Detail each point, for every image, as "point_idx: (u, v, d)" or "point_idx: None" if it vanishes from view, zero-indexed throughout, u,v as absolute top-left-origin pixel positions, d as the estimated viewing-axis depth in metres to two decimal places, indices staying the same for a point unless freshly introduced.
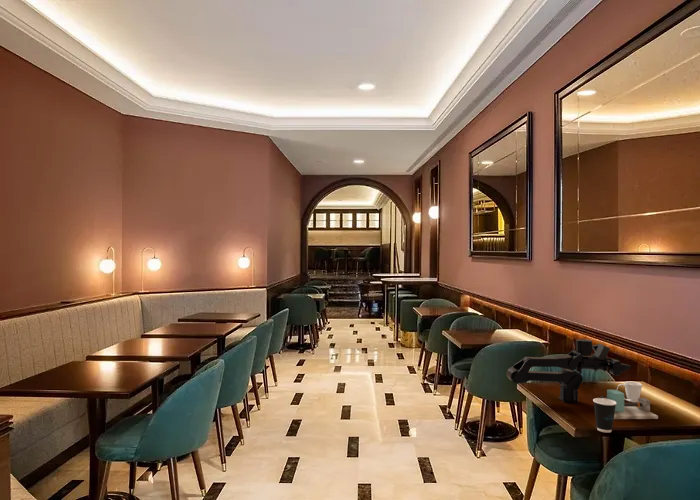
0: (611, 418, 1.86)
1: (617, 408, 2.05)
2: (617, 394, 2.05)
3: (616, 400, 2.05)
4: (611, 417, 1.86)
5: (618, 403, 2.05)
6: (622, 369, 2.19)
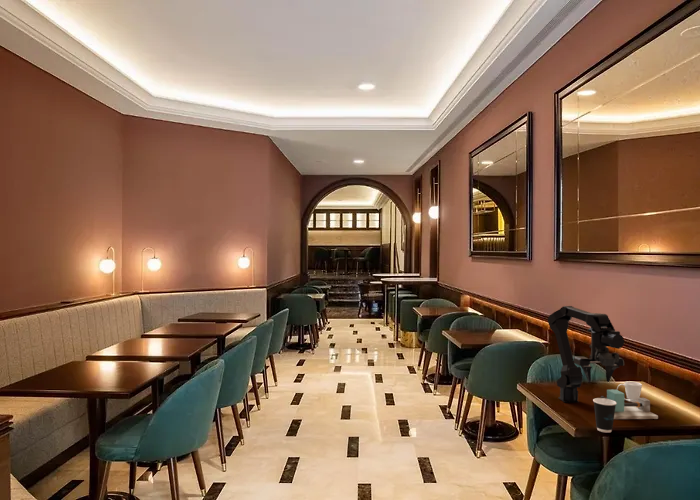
0: (611, 418, 1.86)
1: (617, 408, 2.05)
2: (617, 394, 2.05)
3: (616, 400, 2.05)
4: (611, 417, 1.86)
5: (618, 403, 2.05)
6: (585, 370, 2.09)
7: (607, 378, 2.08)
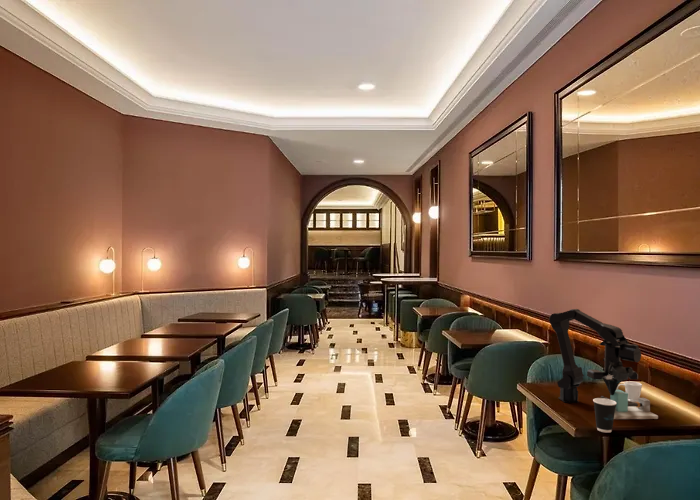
0: (611, 418, 1.86)
1: (620, 408, 2.06)
2: (620, 394, 2.06)
3: (619, 400, 2.05)
4: (611, 417, 1.86)
5: (621, 403, 2.06)
6: (607, 383, 2.09)
7: None
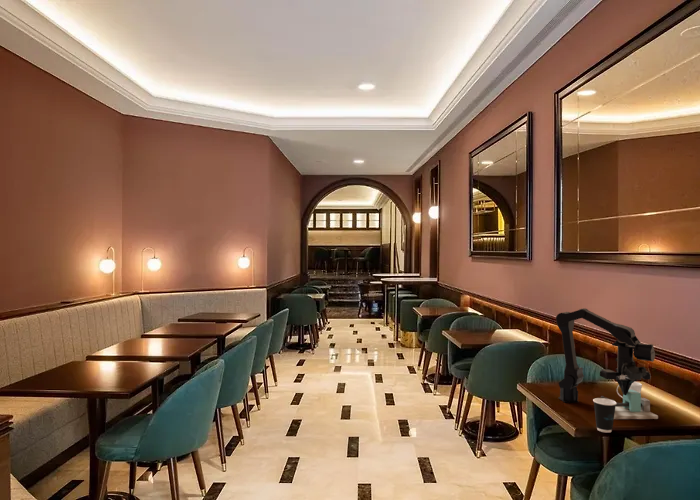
0: (611, 418, 1.86)
1: (633, 408, 2.06)
2: (633, 394, 2.06)
3: (632, 400, 2.06)
4: (611, 417, 1.86)
5: (634, 403, 2.06)
6: (619, 383, 2.09)
7: None
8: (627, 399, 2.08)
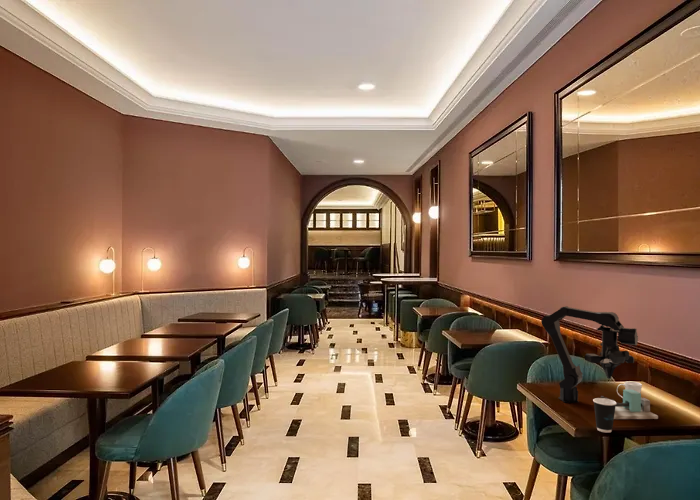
0: (611, 418, 1.86)
1: (634, 408, 2.06)
2: (634, 394, 2.06)
3: (633, 400, 2.06)
4: (611, 417, 1.86)
5: (635, 403, 2.06)
6: (604, 367, 2.15)
7: None
8: (627, 399, 2.08)
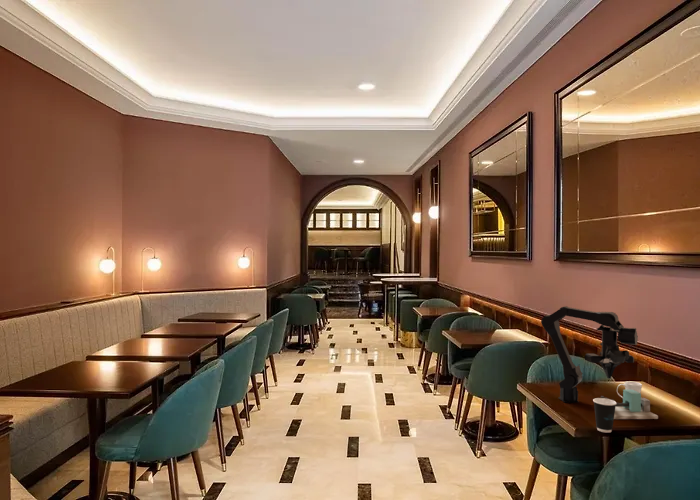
0: (611, 418, 1.86)
1: (634, 408, 2.06)
2: (634, 394, 2.06)
3: (633, 400, 2.06)
4: (611, 417, 1.86)
5: (635, 403, 2.06)
6: (604, 367, 2.15)
7: None
8: (627, 399, 2.08)
